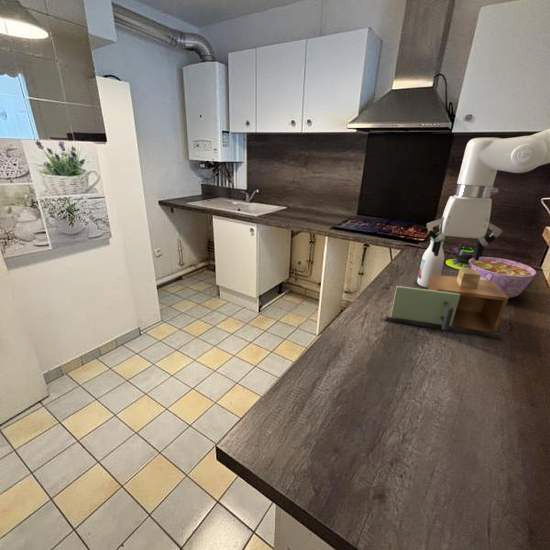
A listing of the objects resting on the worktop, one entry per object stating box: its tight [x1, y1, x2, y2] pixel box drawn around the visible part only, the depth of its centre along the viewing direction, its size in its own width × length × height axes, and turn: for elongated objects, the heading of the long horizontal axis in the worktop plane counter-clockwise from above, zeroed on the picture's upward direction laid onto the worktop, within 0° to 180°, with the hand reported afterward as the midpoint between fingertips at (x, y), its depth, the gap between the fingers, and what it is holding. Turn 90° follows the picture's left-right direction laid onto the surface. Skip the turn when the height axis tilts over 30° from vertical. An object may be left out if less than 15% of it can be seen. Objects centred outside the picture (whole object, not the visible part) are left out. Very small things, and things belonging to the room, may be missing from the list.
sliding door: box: [390, 285, 460, 331], centre depth 86 cm, size 17×7×11 cm, turn 72°
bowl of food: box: [469, 256, 537, 299], centre depth 108 cm, size 20×20×12 cm
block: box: [456, 268, 481, 289], centre depth 88 cm, size 4×4×4 cm
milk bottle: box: [416, 236, 446, 289], centre depth 114 cm, size 8×8×20 cm
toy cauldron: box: [445, 241, 476, 270], centre depth 137 cm, size 15×15×11 cm
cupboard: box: [385, 274, 510, 339], centre depth 92 cm, size 31×14×12 cm, turn 72°
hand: (454, 256), depth 79 cm, fingers open, 9 cm apart
